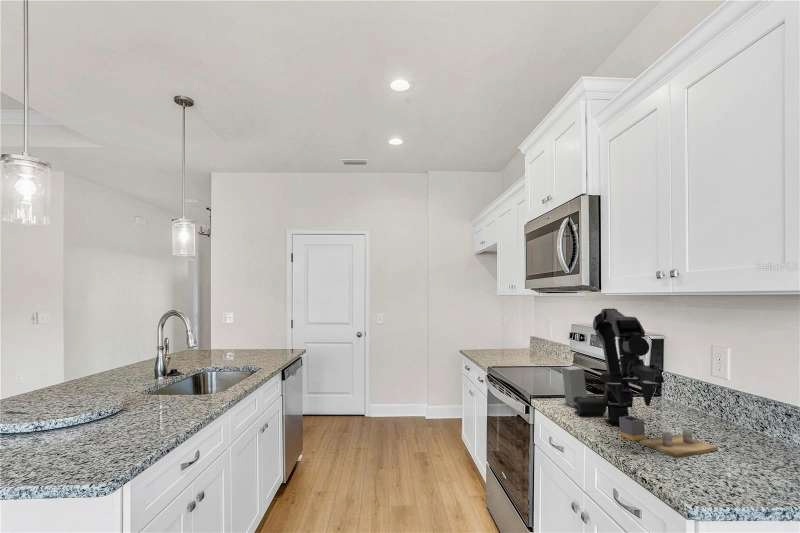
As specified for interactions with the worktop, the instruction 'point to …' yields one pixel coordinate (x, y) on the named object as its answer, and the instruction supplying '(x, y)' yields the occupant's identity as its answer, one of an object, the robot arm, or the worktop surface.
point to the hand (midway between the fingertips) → (634, 406)
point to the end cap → (589, 406)
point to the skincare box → (574, 384)
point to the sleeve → (632, 428)
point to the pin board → (678, 444)
